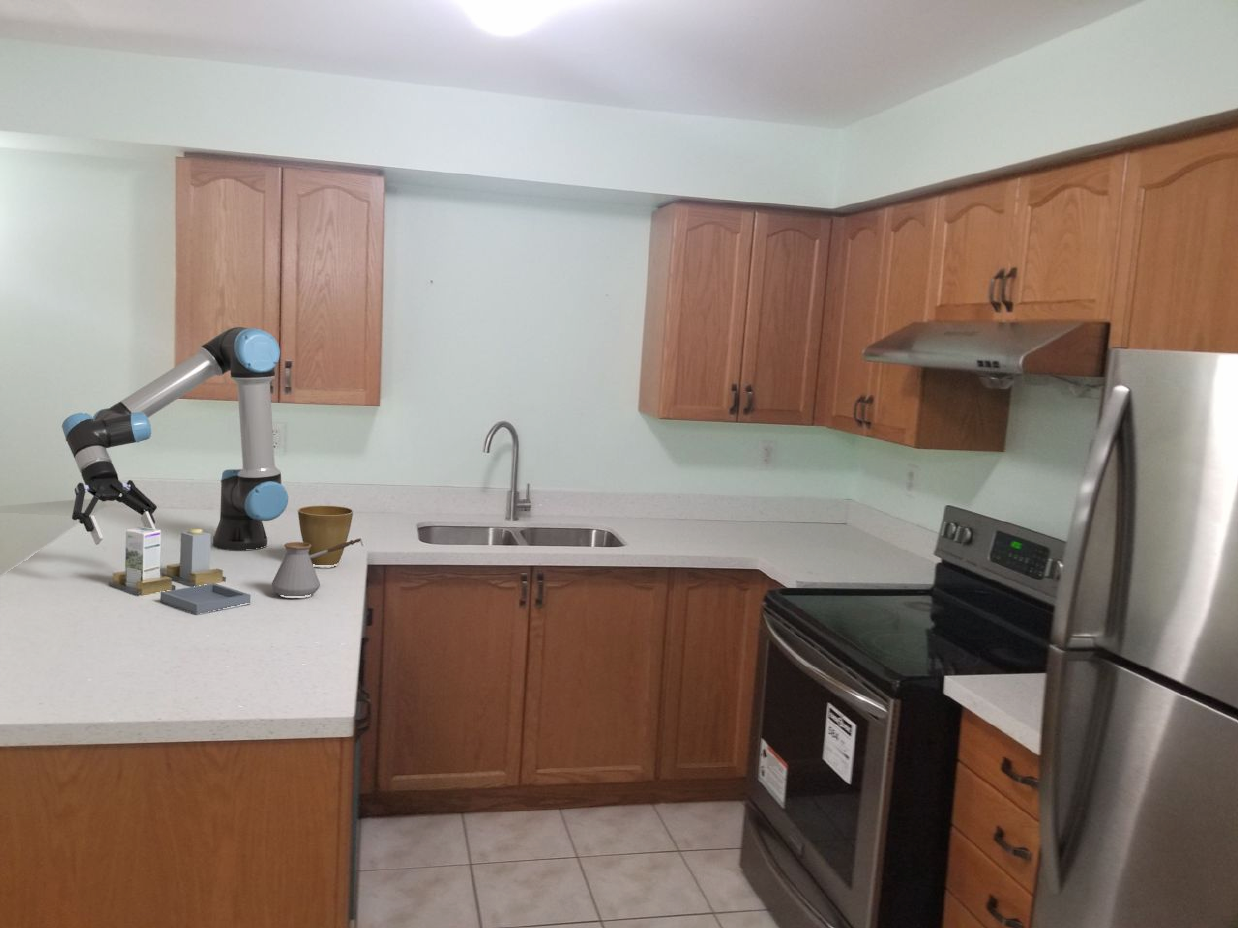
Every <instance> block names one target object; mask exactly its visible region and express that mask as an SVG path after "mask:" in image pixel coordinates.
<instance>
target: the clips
mask: <svg viewBox="0 0 1238 928" xmlns="http://www.w3.org/2000/svg"><path fill="white" fill-rule="evenodd" d="M223 572H224V570H223V569H219V568H212V569H211V568H210V569H209V570H205V571H198V572H192V573H190V580H187V579H183V578H180V562H179V563H174V564H173V563H172V564H167V565H166V572H164V573H162V577H170V578H172V582H175V583H178V584H182V585H184V586H188V587H190V586H191V587H194V586H199V585H204V584H209V583H212V584H213V583H214V582H218V583H221V582H220V581H224V582H226V581H227V577H226V576H224V575H223V574H224V573H223ZM225 580H226V581H225Z"/></svg>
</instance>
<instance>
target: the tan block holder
mask: <svg viewBox="0 0 1238 928" xmlns="http://www.w3.org/2000/svg"><path fill="white" fill-rule="evenodd" d="M108 586H109V587H112V588H115V589H117V590H121V591H122V590H123V592H125V591H126V593H128V592H129V593H128V594H131V593H132V594H131V595H134V596H136V595H137V596H138V597H140V596H139V595H141V596H146V595H145V594H147V595H151V594H150V593H153V594H157V593H156V592H159V593H161V592H160V591H167V590H176V586H177V585H175V584H173V581H172V578H170V577H163V576H160V577H159V578H153V579H146V580H140V581H137V584H136V589H134V588H131V587H129V586H126V585H125V571H117V572H113V573H112V580H110V581H109V582H108ZM137 596H136V597H137Z"/></svg>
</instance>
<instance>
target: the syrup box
mask: <svg viewBox="0 0 1238 928" xmlns="http://www.w3.org/2000/svg"><path fill="white" fill-rule="evenodd" d="M161 537H162V530H161V529H157V528H156V529H151V528H145V527H144V526H141V527H140V526H139V527H133V528H129V529H126V530H125V555H124V556H125V559H124V560H125V562H124V563H125V564H124V565H125V566H124V567H125V568H124V570H125V585H126V586H129V587H131V588H134V589H136V584H137V581H140V580H146V579H153V578H159V577H161V550H162V549H161V548H162V547H161V545H162V544H161V543H162V542H161V541H162V538H161Z"/></svg>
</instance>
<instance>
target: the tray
mask: <svg viewBox="0 0 1238 928" xmlns="http://www.w3.org/2000/svg"><path fill="white" fill-rule="evenodd" d="M159 601H160V603H161V602H162V604H164V603H165V605H167V606H170V607H172V606H173V607H172V608H175V607H176V609H178V608H179V609H178V610H181V609H182V610H181V611H184V610H185V611H184V612H186V611H188V612H187V613H189V612H191V613H190V614H192V613H194V614H193V615H195V614H200V613H205V612H208V611H209V612H210V611H213V610H218V609H223V608H227V607H231V606H237V605H240V604H245V603H250V604H251V594H249V593H246V592H243V591H239V590H237V589H233V588H230V587H227V586H224V585H222V584H218V583H212V584H207V585H201V586H195V587H190V586H188V587H184V588H178V589H175V590H171V591H165V592H160V600H159ZM210 613H211V612H210ZM205 614H206V613H205ZM200 615H201V614H200Z"/></svg>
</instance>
